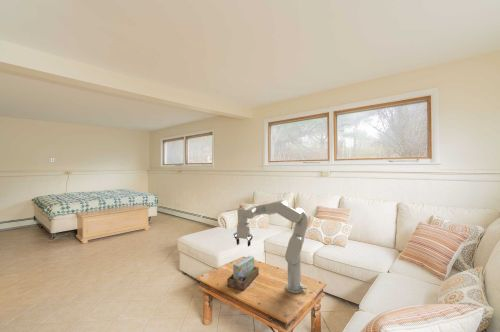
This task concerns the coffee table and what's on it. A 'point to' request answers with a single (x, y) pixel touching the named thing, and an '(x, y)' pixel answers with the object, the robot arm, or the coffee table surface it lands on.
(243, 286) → the walnut crate
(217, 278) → the coffee table surface
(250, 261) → the snack box
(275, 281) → the coffee table surface
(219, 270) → the coffee table surface
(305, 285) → the robot arm
